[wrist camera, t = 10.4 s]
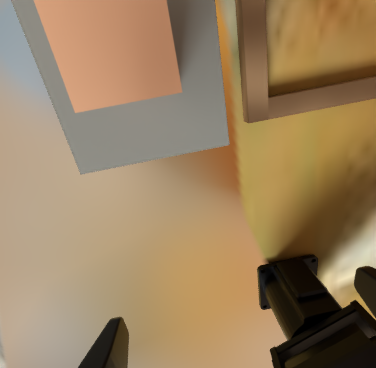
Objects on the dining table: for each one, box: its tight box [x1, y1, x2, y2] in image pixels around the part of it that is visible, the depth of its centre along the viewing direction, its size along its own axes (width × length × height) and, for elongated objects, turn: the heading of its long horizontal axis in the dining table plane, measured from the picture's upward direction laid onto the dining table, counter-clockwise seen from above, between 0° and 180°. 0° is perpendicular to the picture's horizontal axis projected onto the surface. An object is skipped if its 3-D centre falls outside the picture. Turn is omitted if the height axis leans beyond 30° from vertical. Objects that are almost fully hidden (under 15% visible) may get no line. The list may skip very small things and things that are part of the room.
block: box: [34, 0, 182, 113], centre depth 12 cm, size 5×5×6 cm
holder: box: [235, 0, 376, 123], centre depth 15 cm, size 11×15×1 cm
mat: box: [11, 0, 229, 174], centre depth 15 cm, size 14×12×1 cm
